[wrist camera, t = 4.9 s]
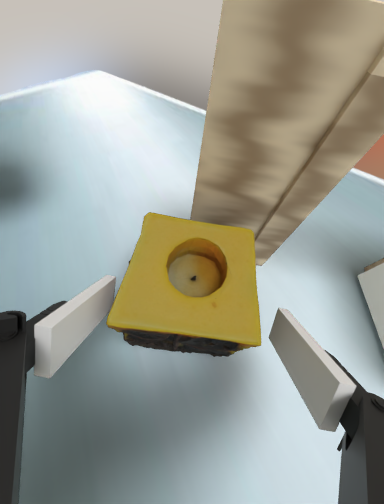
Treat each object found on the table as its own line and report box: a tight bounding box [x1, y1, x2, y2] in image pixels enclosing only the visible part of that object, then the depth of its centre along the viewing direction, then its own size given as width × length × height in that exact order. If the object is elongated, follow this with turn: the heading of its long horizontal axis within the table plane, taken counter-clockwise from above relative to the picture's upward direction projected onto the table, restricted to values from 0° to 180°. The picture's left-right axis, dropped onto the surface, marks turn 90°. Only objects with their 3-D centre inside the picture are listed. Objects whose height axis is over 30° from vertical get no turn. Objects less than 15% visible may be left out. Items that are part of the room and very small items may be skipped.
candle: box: [106, 212, 261, 357], centre depth 18 cm, size 10×10×10 cm
